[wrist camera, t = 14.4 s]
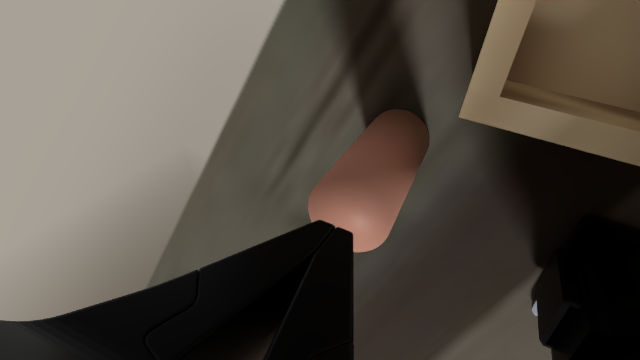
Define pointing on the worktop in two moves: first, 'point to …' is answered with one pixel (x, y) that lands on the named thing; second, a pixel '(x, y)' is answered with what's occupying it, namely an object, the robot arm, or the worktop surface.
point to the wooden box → (562, 74)
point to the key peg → (372, 179)
